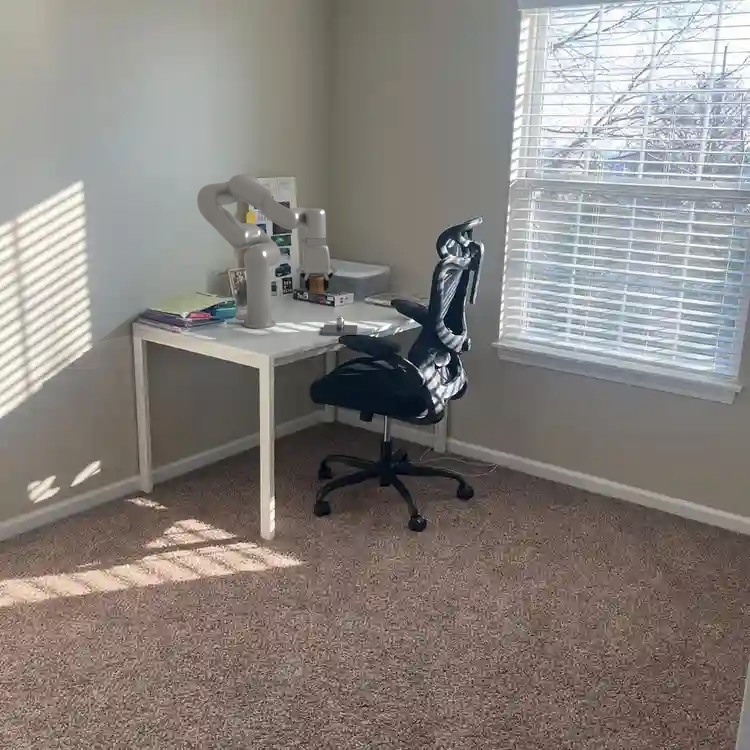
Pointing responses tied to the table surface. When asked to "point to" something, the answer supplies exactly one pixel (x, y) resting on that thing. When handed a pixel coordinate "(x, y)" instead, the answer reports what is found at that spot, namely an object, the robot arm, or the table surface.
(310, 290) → the wooden cylinder
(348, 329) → the shaft plate
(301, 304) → the table surface
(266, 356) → the table surface
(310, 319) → the table surface
